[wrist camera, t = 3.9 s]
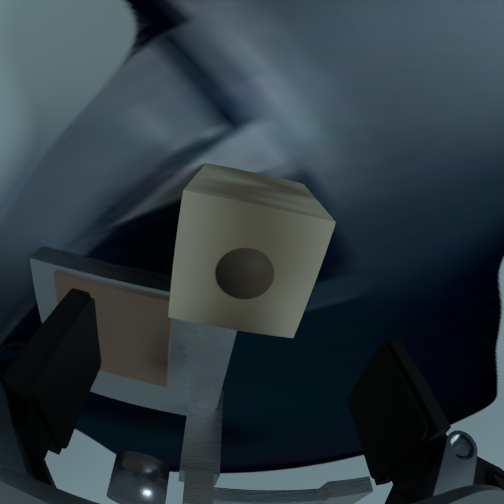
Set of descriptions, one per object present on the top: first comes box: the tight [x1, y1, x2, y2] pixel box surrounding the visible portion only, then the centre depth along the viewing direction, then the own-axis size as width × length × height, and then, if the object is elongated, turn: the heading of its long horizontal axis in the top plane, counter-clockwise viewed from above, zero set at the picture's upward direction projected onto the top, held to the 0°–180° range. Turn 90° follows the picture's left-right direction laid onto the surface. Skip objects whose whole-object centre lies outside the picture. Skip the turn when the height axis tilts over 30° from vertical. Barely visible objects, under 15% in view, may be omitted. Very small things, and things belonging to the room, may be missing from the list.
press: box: [30, 246, 237, 504], centre depth 18 cm, size 16×15×12 cm
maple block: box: [168, 163, 336, 338], centre depth 15 cm, size 6×6×7 cm
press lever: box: [107, 451, 373, 504], centre depth 17 cm, size 21×4×4 cm, turn 77°
